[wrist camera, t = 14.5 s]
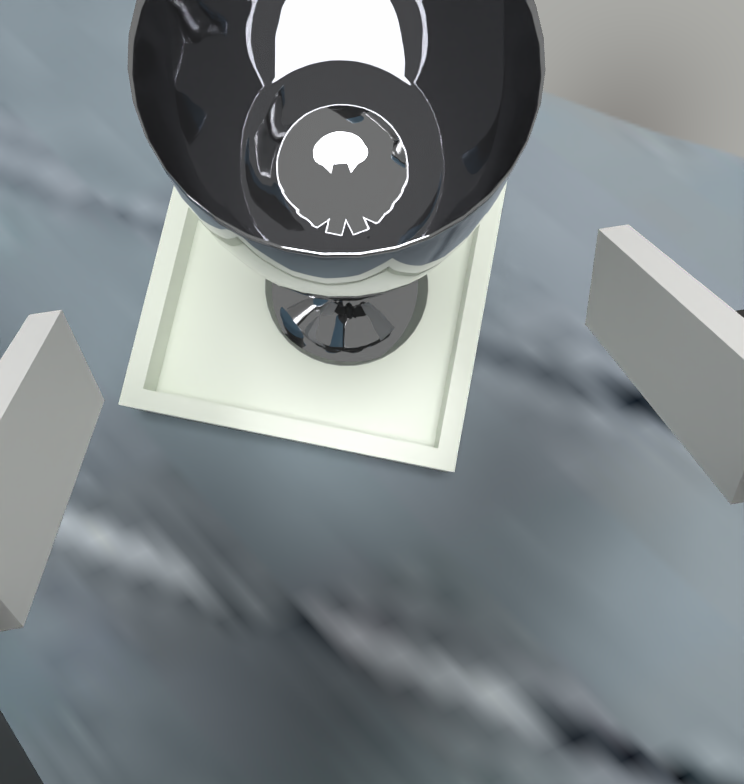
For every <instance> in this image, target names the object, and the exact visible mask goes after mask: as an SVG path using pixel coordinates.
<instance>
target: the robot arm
mask: <svg viewBox="0 0 744 784" xmlns="http://www.w3.org/2000/svg"><path fill="white" fill-rule="evenodd" d="M585 325H586V326H587V327H588V328H589V330H590V331H591V332H592V333H593V335H594V336H595V337H596V338H597V340H598V341H599V342H600V343H601V345H602V346H603V347H604V348H605V349H606V351H607V352H608V353H609V354H610V356H611V357H612V358H613V359H614V361H615V362H616V363H617V364H618V366H619V367H620V368H621V369H622V370H623V372H624V373H625V374H626V375H627V377H628V378H629V379H630V380H631V382H632V383H633V384H634V385H635V387H636V388H637V389H638V390H639V392H640V393H641V394H642V395H643V396H644V398H645V399H646V400H647V401H648V403H649V404H650V405H651V406H652V408H653V409H654V410H655V411H656V413H657V414H658V415H659V416H660V418H661V419H662V420H663V421H664V422H665V424H666V425H667V426H668V427H669V429H670V430H671V431H672V432H673V434H674V435H675V436H676V437H677V439H678V440H679V441H680V442H681V443H682V445H683V446H684V447H685V448H686V450H687V451H688V452H689V453H690V455H691V456H692V457H693V458H694V460H695V461H696V462H697V463H698V465H699V466H700V467H701V468H702V469H703V471H704V472H705V473H706V474H707V476H708V477H709V478H710V479H711V481H712V482H713V483H714V484H715V486H716V487H717V488H718V489H719V491H720V492H721V493H722V494H723V495H724V497H725V498H726V499H727V500H728V502H729V503H730V504H736V503H742V502H744V310H738V311H735V310H733V309H732V308H731V307H730V306H728V305H727V304H726V303H725V302H724V301H722V300H721V299H720V298H719V297H717V296H716V295H715V294H714V293H712V292H711V291H710V290H709V289H707V288H706V287H705V286H704V285H703V284H701V283H700V282H699V281H698V280H696V279H695V278H694V277H693V276H691V275H690V274H689V273H688V272H686V271H685V270H684V269H683V268H682V267H680V266H679V265H678V264H677V263H675V262H674V261H673V260H672V259H670V258H669V257H668V256H667V255H665V254H664V253H663V252H662V251H661V250H659V249H658V248H657V247H656V246H654V245H653V244H652V243H651V242H649V241H648V240H647V239H646V238H644V237H643V236H642V235H641V234H639V233H638V232H637V231H636V230H635V229H633V228H632V227H631V226H630V225H622V226H615V227H609V228H602V229H598V236H597V243H596V250H595V258H594V265H593V272H592V279H591V286H590V294H589V301H588V308H587V315H586V323H585ZM103 403H104V398H103V396H102V394H101V392H100V390H99V387H98V385H97V383H96V381H95V379H94V377H93V375H92V373H91V371H90V368H89V366H88V364H87V362H86V360H85V358H84V356H83V354H82V352H81V350H80V347H79V345H78V343H77V341H76V339H75V337H74V335H73V333H72V331H71V328H70V326H69V324H68V322H67V320H66V318H65V316H64V314H63V312H62V310H57V311H51V312H44V313H37V314H31V315H29V316H28V317H27V319H26V320H25V322H24V323H23V325H22V327H21V328H20V330H19V331H18V333H17V334H16V336H15V338H14V339H13V341H12V342H11V344H10V345H9V347H8V349H7V350H6V352H5V353H4V355H3V356H2V358H1V360H0V631H6V630H11V629H17V628H23V627H24V625H25V622H26V619H27V616H28V613H29V611H30V608H31V605H32V602H33V599H34V597H35V594H36V591H37V588H38V585H39V583H40V580H41V577H42V574H43V571H44V569H45V566H46V563H47V560H48V557H49V555H50V552H51V549H52V546H53V543H54V541H55V538H56V535H57V532H58V529H59V527H60V524H61V521H62V518H63V515H64V513H65V510H66V507H67V504H68V501H69V499H70V496H71V493H72V490H73V487H74V485H75V482H76V479H77V476H78V473H79V471H80V468H81V465H82V462H83V459H84V456H85V454H86V451H87V448H88V445H89V442H90V440H91V437H92V434H93V431H94V428H95V426H96V423H97V420H98V417H99V414H100V412H101V409H102V406H103ZM0 784H43V782H42V780H41V779H40V777H39V775H38V774H37V772H36V770H35V768H34V767H33V765H32V763H31V762H30V760H29V758H28V757H27V755H26V753H25V751H24V750H23V748H22V746H21V745H20V743H19V741H18V740H17V738H16V736H15V734H14V733H13V731H12V729H11V728H10V726H9V724H8V723H7V721H6V719H5V717H4V716H3V714H2V712H1V711H0Z"/></svg>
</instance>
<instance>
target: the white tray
mask: <svg viewBox="0 0 744 784" xmlns="http://www.w3.org/2000/svg"><path fill="white" fill-rule="evenodd" d="M506 184H507V182H506ZM506 184H505V186H504V187H503V189H502V191H501V193H500V195H499V196H498V198H497V200H496V201H495V203H494V204H493V206H492V207H491V209H490V210H489V212H488V213H487V214H486V216H485V217H484V219H483V220H482V222H481V223H480V224H479V225H478V227H477V228H476V229H475V230H474V231H473V233H472V234H471V235H470V236H469V237H468V239H467V240H466V241H465V242H464V243H463V244H462V245H461V246H460V247H459V248H458V249H457V250H456V251H455V252H453V253H452V254H451V255H450V256H449V257H448V258H447V259H446V260H444V261H443V262H442V263H441V264H440V265H438V266H437V267H436V268H435V269H434V270H432V271H431V272H430V273H428V274H427V276H428V297H427V304H426V308H425V311H424V314H423V316H422V319H421V321H420V323H419V324H418V326H417V328H416V330H415V331H414V333H413V334H412V335H411V336H410V337H409V339H408V340H407V341H406V342H405V343H404V344H403V345H402V346H400V347H399V348H398V349H397V350H396V351H394V352H393V353H391V354H389V355H387V356H386V357H384V358H382V359H379V360H377V361H374V362H371V363H368V364H363V365H357V366H337V365H331V364H326V363H323V362H320V361H317V360H314V359H312V358H310V357H308V356H306V355H305V354H303V353H301V352H299V351H298V350H297V349H296V348H295V347H293V346H292V345H291V344H290V343H289V342H288V341H287V340H286V339H285V338H284V337H283V336H282V334H281V333H280V332H279V330H278V329H277V327H276V325H275V324H274V322H273V320H272V318H271V315H270V312H269V310H268V307H267V301H266V296H265V278H264V277H262V276H260V275H258V274H256V273H255V272H254V271H253V270H251V269H250V268H249V267H248V266H246V265H245V264H244V263H243V262H241V261H240V260H239V259H238V258H236V257H235V256H234V255H233V254H232V253H230V252H229V251H228V250H227V249H225V248H224V247H223V246H222V245H220V244H219V243H218V242H217V240H216V239H215V238H214V237H213V236H212V235H211V233H210V232H209V231H208V230H207V229H206V228H205V227H204V225H203V224H202V223H201V222H200V221H199V219H198V218H197V217H196V216H195V214H194V213H193V212H192V210H191V209H190V208H189V207H188V205H187V204H186V203H185V201H184V200H183V199H182V198H181V196H180V194H179V193H178V191H177V190H176V188H175V186H174V188H173V192H172V195H171V199H170V203H169V207H168V211H167V215H166V219H165V223H164V227H163V231H162V235H161V239H160V243H159V247H158V251H157V254H156V258H155V262H154V266H153V270H152V274H151V278H150V282H149V286H148V290H147V294H146V298H145V302H144V306H143V309H142V313H141V317H140V321H139V325H138V329H137V333H136V337H135V341H134V345H133V349H132V353H131V357H130V361H129V364H128V368H127V372H126V376H125V380H124V384H123V388H122V392H121V396H120V400H119V404H118V405H122V406H126V407H130V408H134V409H138V410H142V411H147V412H152V413H157V414H162V415H167V416H172V417H177V418H182V419H187V420H192V421H197V422H201V423H206V424H211V425H216V426H221V427H226V428H231V429H236V430H241V431H246V432H251V433H256V434H261V435H266V436H271V437H276V438H281V439H286V440H291V441H296V442H301V443H306V444H311V445H316V446H320V447H325V448H330V449H335V450H340V451H345V452H350V453H355V454H360V455H365V456H370V457H375V458H380V459H385V460H390V461H395V462H400V463H405V464H410V465H415V466H420V467H425V468H430V469H434V470H439V471H444V472H454V471H455V466H456V460H457V454H458V449H459V443H460V438H461V432H462V427H463V421H464V416H465V410H466V405H467V399H468V394H469V388H470V383H471V377H472V372H473V366H474V361H475V355H476V350H477V344H478V339H479V333H480V328H481V322H482V317H483V311H484V306H485V300H486V294H487V289H488V283H489V278H490V272H491V267H492V261H493V256H494V250H495V245H496V239H497V234H498V228H499V223H500V217H501V212H502V206H503V201H504V195H505V190H506Z"/></svg>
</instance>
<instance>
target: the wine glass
mask: <svg viewBox="0 0 744 784" xmlns="http://www.w3.org/2000/svg"><path fill="white" fill-rule="evenodd" d="M128 73H129V80H130V86H131V92H132V99H133V103H134V106H135V109H136V112H137V114H138V117H139V120H140V123H141V126H142V128H143V131H144V134H145V136H146V138H147V140H148V142H149V144H150V146H151V148H152V150H153V151H154V153H155V155H156V156H157V158H158V160H159V162H160V163H161V165H162V167H163V168H164V170H165V172H166V173H167V175H168V177H169V178H170V180H171V182H172V183H173V185H174V186H175V188H176V190H177V191H178V193H179V194H180V196H181V198H182V199H183V200H184V201H185V203H186V204H187V205H188V207H189V208H190V209H191V210H192V212H193V213H194V214H195V216H196V217H197V218H198V219H199V221H200V222H201V223H202V224H203V225H204V227H205V228H206V229H207V230H208V231H209V232H210V233H211V235H212V236H213V237H214V238H215V239H216V240H217V242H218V243H219V244H220V245H222V246H223V247H224V248H225V249H227V250H228V251H229V252H230V253H232V254H233V255H234V256H235V257H236V258H238V259H239V260H240V261H241V262H243V263H244V264H245V265H246V266H248V267H249V268H250V269H251V270H253V271H254V272H255V273H256V274H258V275H260V276H262V277H264V278H265V296H266V301H267V307H268V310H269V312H270V315H271V318H272V320H273V322H274V324H275V325H276V327H277V329H278V330H279V332H280V333H281V334H282V336H283V337H284V338H285V339H286V340H287V341H288V342H289V343H290V344H291V345H292V346H293V347H295V348H296V349H297V350H298V351H299V352H301V353H303V354H305V355H306V356H308V357H310V358H312V359H314V360H317V361H320V362H323V363H326V364H331V365H337V366H357V365H363V364H368V363H371V362H374V361H377V360H379V359H382V358H384V357H386V356H387V355H389V354H391V353H393V352H394V351H396V350H397V349H398V348H399V347H400V346H402V345H403V344H404V343H405V342H406V341H407V340H408V339H409V337H410V336H411V335H412V334H413V333H414V331H415V330H416V328H417V326H418V324H419V323H420V321H421V319H422V316H423V314H424V311H425V308H426V304H427V297H428V276H427V274H428V273H430V272H431V271H432V270H434V269H435V268H436V267H437V266H438V265H440V264H441V263H442V262H443V261H444V260H446V259H447V258H448V257H449V256H450V255H451V254H452V253H453V252H455V251H456V250H457V249H458V248H459V247H460V246H461V245H462V244H463V243H464V242H465V241H466V240H467V239H468V237H469V236H470V235H471V234H472V233H473V231H474V230H475V229H476V228H477V227H478V225H479V224H480V223H481V222H482V220H483V219H484V217H485V216H486V214H487V213H488V212H489V210H490V209H491V207H492V206H493V204H494V203H495V201H496V200H497V198H498V196H499V195H500V193H501V191H502V189H503V187H504V186H505V184H506V182H507V180H508V179H509V177H510V175H511V173H512V171H513V170H514V168H515V166H516V164H517V162H518V160H519V158H520V156H521V154H522V152H523V151H524V149H525V147H526V145H527V142H528V140H529V137H530V134H531V131H532V128H533V125H534V122H535V119H536V116H537V113H538V110H539V107H540V104H541V98H542V91H543V83H544V76H545V57H544V38H543V33H542V29H541V25H540V20H539V16H538V12H537V8H536V4H535V2H534V0H137V1H136V5H135V9H134V14H133V18H132V22H131V27H130V31H129V44H128Z"/></svg>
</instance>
